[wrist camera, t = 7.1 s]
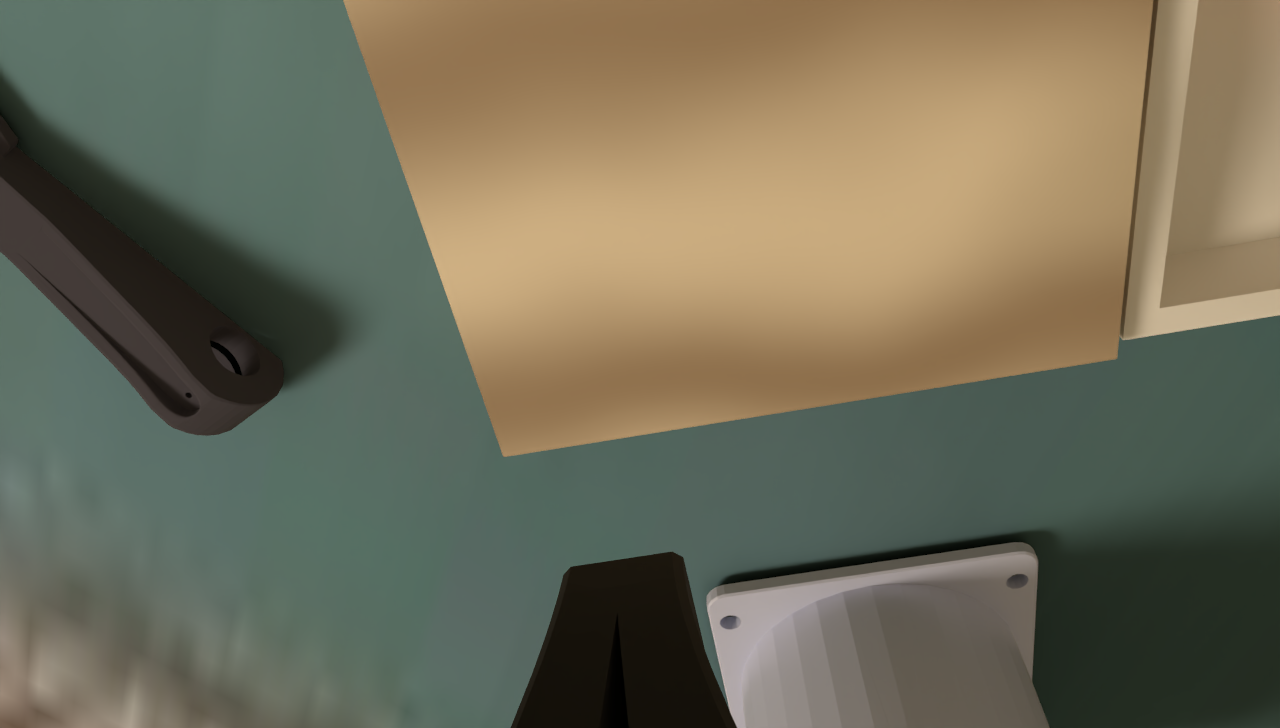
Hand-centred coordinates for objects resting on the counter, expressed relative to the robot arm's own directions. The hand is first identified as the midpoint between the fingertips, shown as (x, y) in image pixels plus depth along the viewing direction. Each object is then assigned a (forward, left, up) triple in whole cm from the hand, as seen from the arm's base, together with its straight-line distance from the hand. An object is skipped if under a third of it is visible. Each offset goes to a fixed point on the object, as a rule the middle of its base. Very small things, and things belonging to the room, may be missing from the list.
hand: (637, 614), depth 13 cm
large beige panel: (+4, -3, -9) cm, 11 cm away
